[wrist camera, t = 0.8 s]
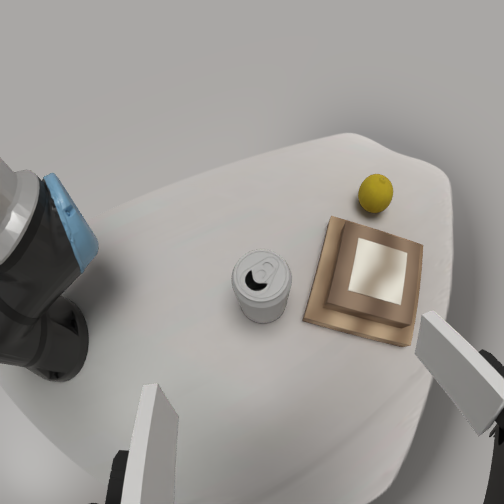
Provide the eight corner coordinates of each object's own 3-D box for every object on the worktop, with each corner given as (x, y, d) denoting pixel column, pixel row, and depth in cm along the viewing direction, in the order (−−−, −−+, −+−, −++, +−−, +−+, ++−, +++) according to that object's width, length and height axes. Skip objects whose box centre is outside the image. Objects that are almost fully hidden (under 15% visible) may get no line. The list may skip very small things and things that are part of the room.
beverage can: (231, 304, 40) (216, 277, 29) (261, 271, 41) (257, 234, 30) (265, 333, 38) (264, 318, 27) (295, 298, 39) (305, 270, 28)
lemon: (382, 225, 43) (399, 198, 36) (351, 216, 44) (364, 187, 37) (384, 199, 45) (399, 170, 38) (355, 190, 46) (366, 160, 39)
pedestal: (302, 320, 38) (307, 312, 33) (328, 223, 44) (335, 204, 38) (403, 347, 35) (421, 342, 30) (416, 251, 41) (432, 236, 36)
